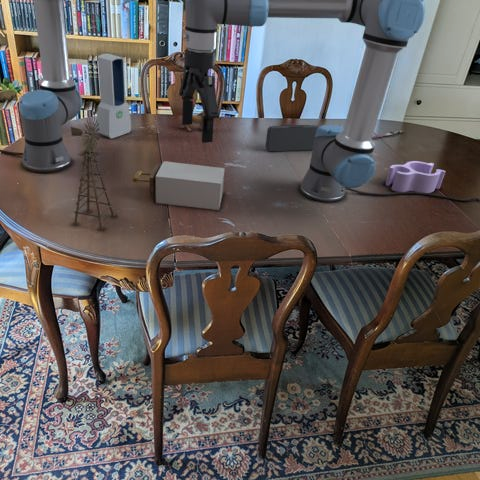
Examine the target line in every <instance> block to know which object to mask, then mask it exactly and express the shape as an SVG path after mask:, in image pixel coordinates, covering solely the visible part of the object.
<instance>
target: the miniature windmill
mask: <svg viewBox="0 0 480 480" xmlns="http://www.w3.org/2000/svg"><path fill="white" fill-rule="evenodd" d="M89 119H91V121H89ZM89 119H88V118H86V122H87V123H86V122H84V126H85V128H84V127H82V129H80V128H77V127H73V126H70V131H71V136H72V137H81V136H82V137H83V138H82V140H81V141H82V146H83V147H84V150H83V151H81V152H80V153H78V154H77V155H78V156H80V157H83V161H82V162H81V164H82V168H81V171H80V173H81V175H80V178H79V187H78V193H77V195H76V196H77V201H76V202H75V205H76V207H75V208H76V209H75V210H74V212H73V213H74V221H73V224H74V225H77V224H78V217H79V215H83V216H89V217H94V218H98V224H99V229H100V230H103V229H104V228H103V222H102V221H103V220H102V217H103V216H104V215H105V214H106V213H107V212H108V211H110V214H111V216H112V217H115V212H114V210H113V203H111V201H110V197H109V193H108V192H107V191H108V188H106V185H105V182H104V179H103V174H102V173H101V169H100V166H99V164H98V163H99V160H97V157H98V156H100V155H101V154H102V153H103V152H102V151H100V150H95V149H97V147H96V146H98V142H97V141H99V140H100V138H99V137H98V136H100V133H98V130H99V128H98V129H97V126H98V125H99V123H98V124H97V126H96V123H97V119H96V117H94V116H93V115H92V116H89ZM94 167H96V170H97V173H95V172H94ZM85 170H87V172H86V174H85ZM90 171H91V172H90ZM90 175H91V179H92V180H90ZM95 176H98V177H97V178H95ZM99 180H100V182H101V186H102V187H100V186H97V184H96V183H97V182H98V181H99ZM90 183H92V185H90ZM85 185H86V187H85V188H84V189H83V187H84V186H85ZM91 188H93V192H94V196H91V194H90V192H91V191H90V189H91ZM97 189H98V190H103V191H102V192H101V193H100V194H99V195H98V191H97ZM85 191H86V193H85ZM83 193H85V194H83ZM103 195H105V198H106V201H107V202H102V201H99V198H100V197H102V196H103ZM85 198H86V200H85V201H84V202H83V203H82V204H81V201H83V200H84V199H85ZM91 199H94V200H91ZM90 203H94V204H96V205H95V206H96V211H97V214H92V213H91V214H90V213H85V212H82V211H81V212H80V209H81V208H83V207H84V205H86V207H87V208H86V210H87V212H90V209H91V208H90V206H91V205H90ZM80 204H81V205H80ZM100 205H105V206H108V207H107V208H106V209H105V210H104V211H103V212H102V213H101V210H100Z"/></svg>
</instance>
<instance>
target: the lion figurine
mask: <svg viewBox="0 0 480 480" xmlns="http://www.w3.org/2000/svg"><path fill="white" fill-rule="evenodd" d="M203 116H204V112H203V110H202V111H201V112H200V113H198V114H193V115H192V124H195V125H197V124H199V126H198V128H199V129H200V130H202V124H203V119H202V117H203ZM189 126H190V125H183V124H182V120H181V122H180V125H179V126H178V128H177V129H179V130H180V129H185V128H186V129H187V131H189V132H191V131H192V129H191V128H190V127H189Z"/></svg>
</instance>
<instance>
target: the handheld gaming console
mask: <svg viewBox="0 0 480 480" xmlns="http://www.w3.org/2000/svg"><path fill="white" fill-rule="evenodd" d="M320 126H321V125H320ZM320 126H319V125H318V124H292V125H291V124H290V125H289V124H286V125H285V124H284V125H283V124H281V125H270V126H268V127H267V130H266V139H265V145H264V146H265V150H267V151H268V152H289V151H290V152H292V151H294V152H295V151H312V150H313V145H314V139H315V134H316V131H317V129H318V127H320Z"/></svg>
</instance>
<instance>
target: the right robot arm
mask: <svg viewBox="0 0 480 480" xmlns="http://www.w3.org/2000/svg"><path fill="white" fill-rule="evenodd" d="M184 6H185V7H184V8H185V9H184V11H185V15H184V17H185V18H184V29H185V30H184V34H183V36H182V37H183V39H184V47H185V50H184V52H183V53H184V54H183V55H184V57H183V60H184V61H183V64H184V66H183V75H182V79H181V82H180V83H181V84H180V87H179V92H178V95H179V96H180V97H181V100H182V109H181V110H182V114H181V115H182V116H181V121H182V124H183V126H186V125H189V126H190V125H193V122H192V115H194V114H193V112H194V111H193V110H194V101H193V100H194V94H195V92H196V93H197V94H198V95H199V98H200V103H201V107H202V108H201V109H202V111H203V112H204V116H203V117H202V119H203V124H202V129H201V144H206V143H213V137H214V121H215V119H219V115H220V114H219V108H218V100H217V91H216V77H215V76H214V75H210V73H209V70H211V69H213V68H214V67H215V64H216V63H215V62H216V52H215V50H216V48H217V26H218V25H228V26H239V27H240V26H241V27H249V28H253V27H263V26H264V25H265V24H266V23H267V20H268V19H269V18H274V19H275V18H276V19H279V18H280V19H338V21H339V22H340V23H343V24H344V23H345V24H346V23H349V24H354V25H355V24H356V25H358V26H361V27H364V30H363V34H362V38H361V39H362V41H363V43H364V44H365V49H364V53H363V56H362V59H361V63H360V67H359V71H358V74H357V78H356V82H355V84H354V88H353V93H352V96H351V100H350V104H349V107H348V111H347V114H346V119H345V122H344V125H337V124H335V125H334V124H324V125H320V127H318V129H317V131H316V134H315V139H314V145H313V150H311V156H310V162H309V167H308V170H307V172H306V173H305V175H304V177H303V179H302V180H301V182H300V186H299V190H300V192H301V194H302V195H304V196H306V197H307V198H309V199H312V200H314V201H318V202H324V203H333V202H338V201H341V200H342V199H344V197H345V195H346V191H349V192H353V193H356V194H361V195H368V196H378V197H379V196H395V195H421V196H430V197H436V198H443V199H448V200H453V201H457V202H469V201H473V200H477V202H480V198H479V197H477V196H476V197H475V196H473V197H469V198H457V197H452V196H447V195H442V194H435V193H421V192H415V191H407V192H397V191H394V192H388V193H385V192H384V193H379V192H378V193H377V192H367V191H360V190H357V189H356V188H359V187H362V186H363V185H364V184H367V183H368V182H369V181H370V180H371V179H372V177H373V176H374V174H375V171H376V163H375V160H374V158H372V157H373V153H374V150H375V147H376V144H375V142H374V139H372V137H374V132H375V130H376V126H377V123H378V119H379V116H380V113H381V110H382V106H383V103H384V101H385V98H386V94H387V91H388V87H389V84H390V81H391V77H392V75H393V71H394V68H395V64H396V61H397V58H398V56H399V55H398V54H399V53H400V52H401V51H403V50H405V49H406V48H407V47H408V43H409V40H410V39H411V38H413V37H414V35H415V34H418V32H419V31H420V29H421V28H422V26H423V24H424V21H425V18H426V17H425V15H426V4H425V1H424V0H185V3H184ZM478 198H479V199H478Z"/></svg>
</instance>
